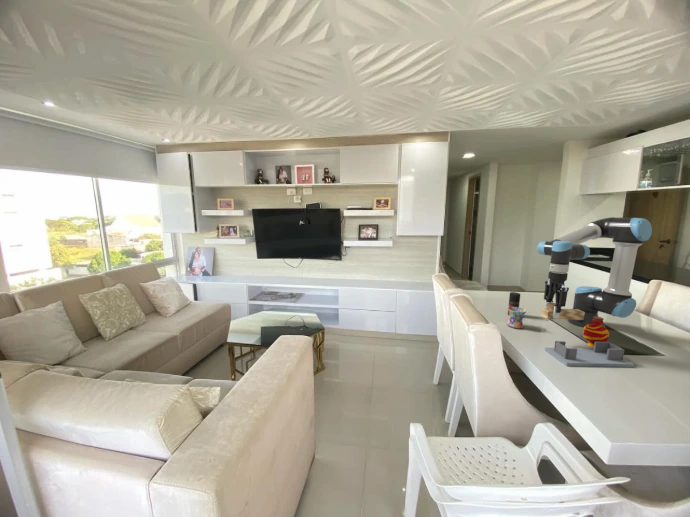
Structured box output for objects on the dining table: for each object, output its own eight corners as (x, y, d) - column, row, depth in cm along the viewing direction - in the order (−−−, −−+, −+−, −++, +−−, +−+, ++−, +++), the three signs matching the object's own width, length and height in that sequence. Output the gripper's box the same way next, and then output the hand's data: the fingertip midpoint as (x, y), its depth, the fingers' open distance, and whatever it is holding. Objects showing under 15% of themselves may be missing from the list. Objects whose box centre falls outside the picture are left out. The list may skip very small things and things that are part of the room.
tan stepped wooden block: (576, 316, 144) (578, 303, 143) (583, 319, 139) (585, 306, 138) (541, 315, 144) (543, 302, 143) (547, 319, 140) (549, 305, 139)
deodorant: (505, 313, 186) (507, 292, 183) (513, 313, 186) (516, 292, 184) (511, 317, 180) (513, 294, 177) (520, 316, 180) (522, 294, 178)
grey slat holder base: (604, 351, 136) (606, 338, 135) (633, 367, 122) (635, 353, 121) (544, 350, 137) (546, 338, 136) (566, 365, 123) (568, 352, 122)
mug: (522, 331, 159) (524, 313, 157) (504, 326, 165) (506, 309, 163) (526, 324, 168) (528, 308, 166) (509, 320, 174) (510, 304, 172)
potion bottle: (602, 352, 135) (607, 323, 133) (576, 343, 144) (581, 316, 142) (611, 347, 140) (616, 319, 137) (586, 339, 149) (590, 312, 146)
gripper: (539, 268, 147) (533, 310, 151) (563, 275, 129) (556, 323, 133) (553, 268, 147) (547, 310, 151) (580, 276, 129) (572, 323, 133)
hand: (552, 316), depth 142 cm, fingers closed on tan stepped wooden block, 4 cm apart
